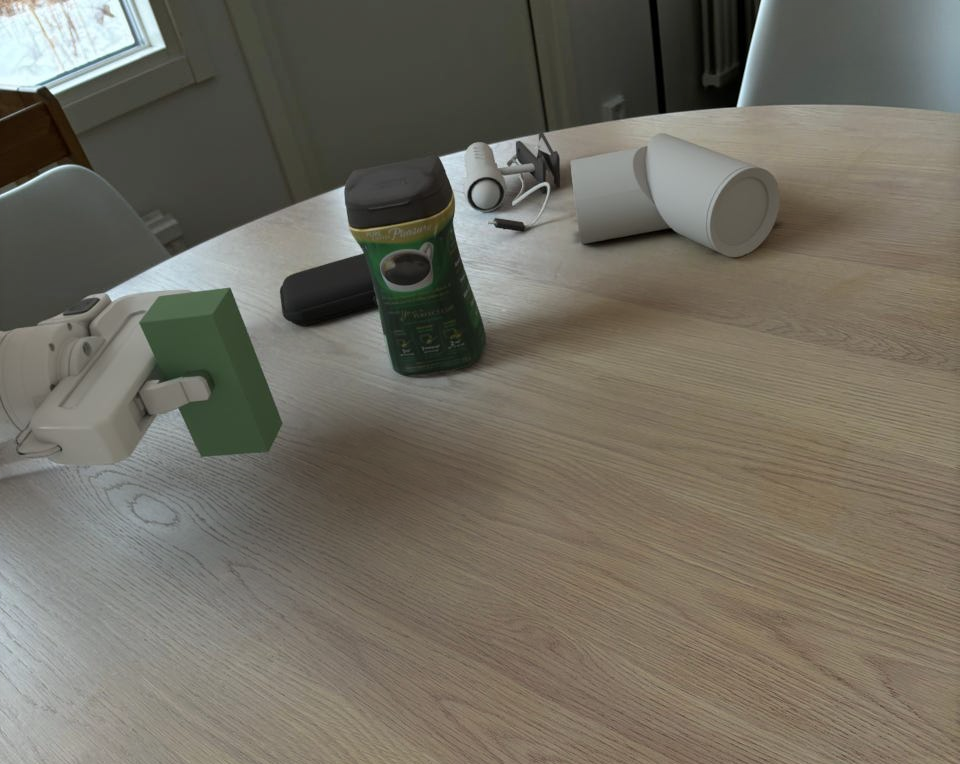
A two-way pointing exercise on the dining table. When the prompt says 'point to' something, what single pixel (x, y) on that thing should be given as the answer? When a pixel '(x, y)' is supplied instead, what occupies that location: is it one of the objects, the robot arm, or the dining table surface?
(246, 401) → the green bar
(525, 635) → the dining table surface
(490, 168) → the clip-on lamp
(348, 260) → the carrying case
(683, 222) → the l-shaped cylinder
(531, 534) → the dining table surface
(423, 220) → the coffee jar
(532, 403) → the dining table surface
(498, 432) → the dining table surface
